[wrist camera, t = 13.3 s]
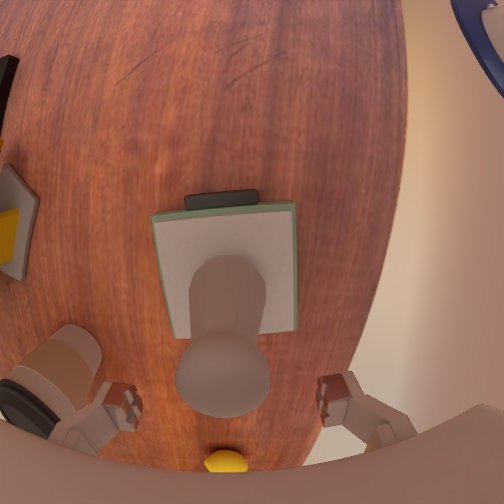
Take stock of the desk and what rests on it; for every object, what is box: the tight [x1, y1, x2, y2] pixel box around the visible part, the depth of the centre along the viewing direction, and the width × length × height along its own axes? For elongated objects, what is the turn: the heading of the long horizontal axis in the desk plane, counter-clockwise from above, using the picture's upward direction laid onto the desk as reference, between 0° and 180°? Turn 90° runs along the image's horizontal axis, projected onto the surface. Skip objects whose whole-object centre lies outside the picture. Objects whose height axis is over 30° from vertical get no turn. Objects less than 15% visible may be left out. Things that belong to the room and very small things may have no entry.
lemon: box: [203, 450, 248, 472], centre depth 32 cm, size 7×5×5 cm
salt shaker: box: [175, 255, 270, 418], centre depth 16 cm, size 6×6×13 cm
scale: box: [151, 189, 297, 339], centre depth 24 cm, size 12×13×3 cm
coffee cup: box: [0, 324, 102, 440], centre depth 20 cm, size 9×9×15 cm
